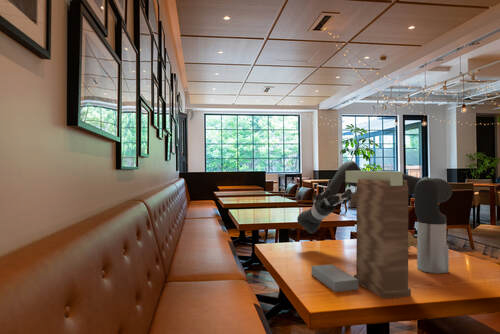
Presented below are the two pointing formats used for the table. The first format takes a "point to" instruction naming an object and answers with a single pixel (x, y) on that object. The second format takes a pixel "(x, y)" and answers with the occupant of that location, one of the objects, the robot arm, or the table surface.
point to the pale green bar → (376, 176)
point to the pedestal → (382, 238)
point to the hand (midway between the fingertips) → (340, 191)
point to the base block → (334, 278)
